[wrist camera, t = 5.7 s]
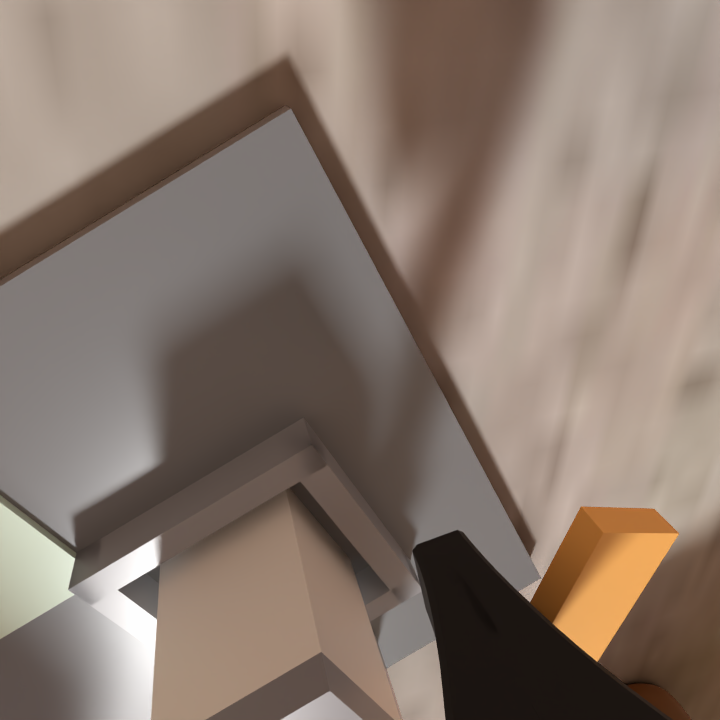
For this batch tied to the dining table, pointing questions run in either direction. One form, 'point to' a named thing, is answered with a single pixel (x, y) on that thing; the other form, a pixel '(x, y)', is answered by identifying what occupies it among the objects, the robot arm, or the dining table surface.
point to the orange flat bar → (602, 572)
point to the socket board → (212, 420)
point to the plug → (266, 626)
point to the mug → (660, 700)
